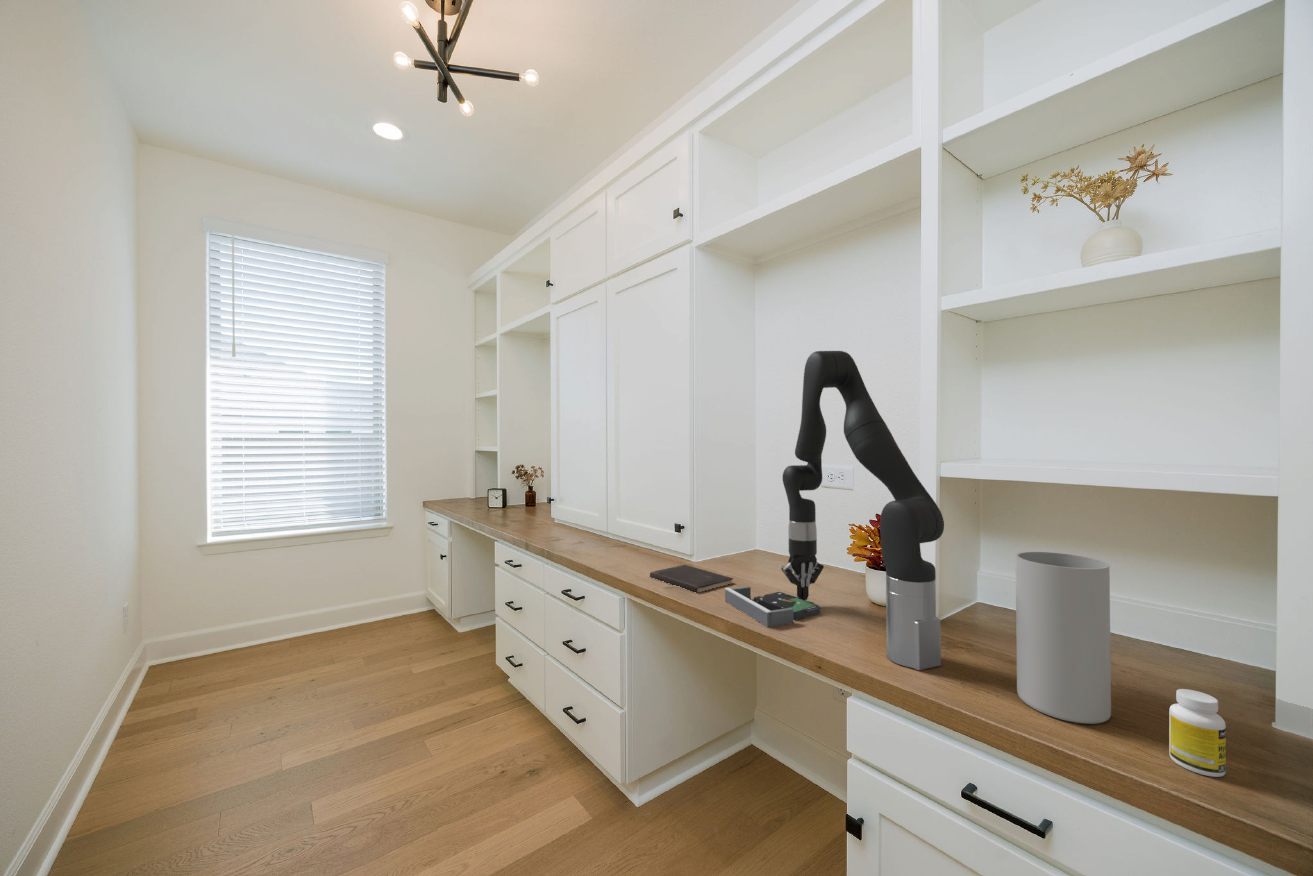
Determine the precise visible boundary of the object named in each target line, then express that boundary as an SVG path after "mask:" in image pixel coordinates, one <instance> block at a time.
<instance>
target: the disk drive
mask: <svg viewBox="0 0 1313 876" xmlns="http://www.w3.org/2000/svg"><path fill="white" fill-rule="evenodd" d="M753 601H754V602H756V603H757V604H759V605H761V606H763V607H765V608H766V609H768V610H770V611H772V610H779V609H786V608H792V609H793V620H795V621H798V620H802V619H804V618H805V617H806V618H808V617H809V618H810V617H812V615H813V616H815V615H820V614H821V607H820V605H819V604H817V603H814V602H812V601H809V600H803V599H800V598H798V597H797V596H794V595H790V594H787V593H785V592H781V591H776V592H773V593H768V594H766V593H765V594H764V595H763V596H760V595H759V596H755V597H753Z"/></svg>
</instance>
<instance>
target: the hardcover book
mask: <svg viewBox="0 0 1313 876" xmlns="http://www.w3.org/2000/svg"><path fill="white" fill-rule="evenodd" d="M650 577H651V579H653V578H655V579H654V580H656V579H658V580H657V581H659V580H660V581H659V582H662V581H664V582H663V583H665V582H666V583H665V584H668V583H670V584H669V585H671V584H672V586H673V585H676V586H680V587H682V588H685V589H687V590H686V591H688V590H690V591H689V592H691V591H692V592H691V593H694V592H696V593H695V594H698V593H697V592H699V593H702V591H703V592H705V590H706V591H709V589H710V590H713V589H712V588H714V589H717V588H716V587H718V588H720V587H719V586H721V587H724V585H725V586H729V585H732V584H731V583H733V582H732V580H734V578H733V577H730V576H726V575H723V574H719V573H715V572H712V571H708V570H705V569H701V568H697V567H694V566H690V565H687V564H682V565H678V566H672V567H668V568H663V569H658V570H655V571H650V573H649V578H650ZM728 584H729V585H728ZM676 586H675V587H676ZM682 588H681V589H682ZM685 589H684V590H685Z"/></svg>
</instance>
